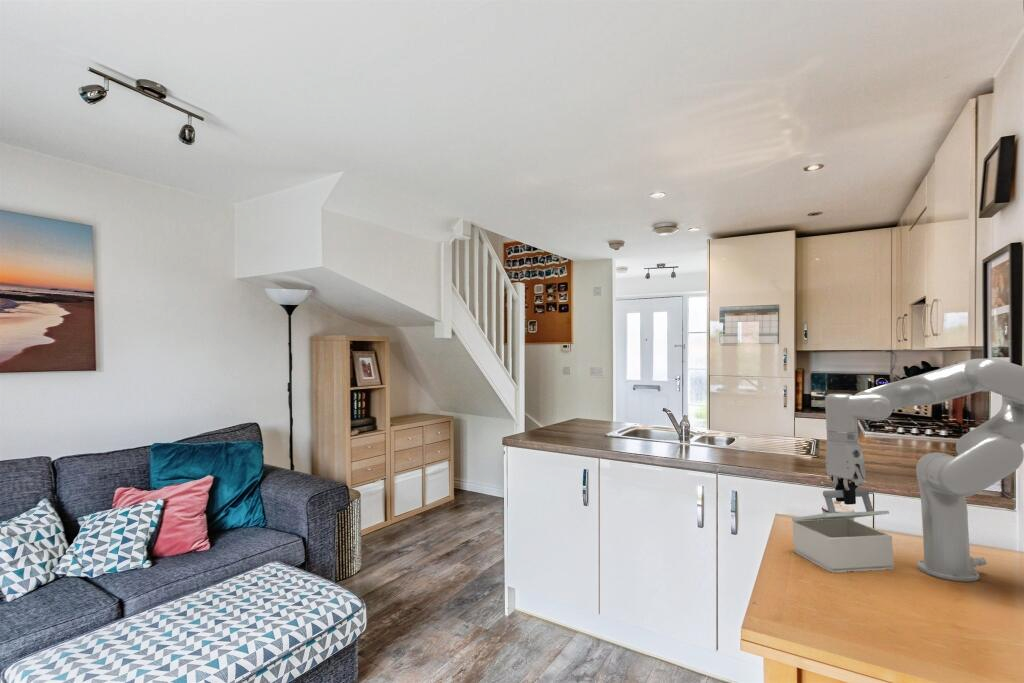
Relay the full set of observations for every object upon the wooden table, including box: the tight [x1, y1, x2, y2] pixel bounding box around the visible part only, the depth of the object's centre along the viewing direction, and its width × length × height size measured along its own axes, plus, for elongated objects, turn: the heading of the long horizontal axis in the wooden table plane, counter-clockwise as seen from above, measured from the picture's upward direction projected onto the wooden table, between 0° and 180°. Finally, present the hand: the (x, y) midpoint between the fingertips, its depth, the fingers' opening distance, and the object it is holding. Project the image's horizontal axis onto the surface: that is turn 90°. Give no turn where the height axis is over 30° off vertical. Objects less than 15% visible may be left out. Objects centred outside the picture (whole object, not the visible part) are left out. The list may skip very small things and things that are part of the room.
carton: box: [792, 519, 894, 574], centre depth 147 cm, size 18×16×9 cm
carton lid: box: [791, 488, 890, 522], centre depth 149 cm, size 18×16×7 cm
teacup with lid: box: [821, 499, 855, 521], centre depth 168 cm, size 12×9×12 cm
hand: (845, 502), depth 145 cm, fingers closed
